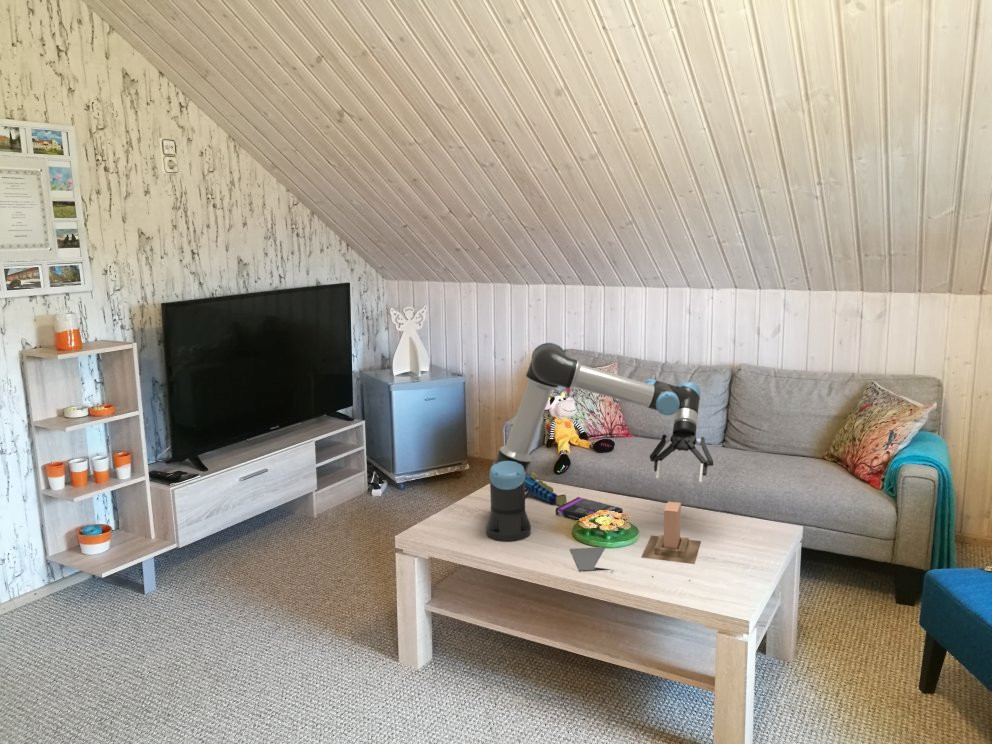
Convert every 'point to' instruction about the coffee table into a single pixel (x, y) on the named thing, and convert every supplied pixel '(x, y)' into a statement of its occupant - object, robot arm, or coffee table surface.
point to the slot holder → (672, 550)
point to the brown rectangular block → (672, 525)
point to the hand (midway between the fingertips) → (678, 482)
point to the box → (583, 508)
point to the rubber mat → (587, 558)
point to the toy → (542, 490)
